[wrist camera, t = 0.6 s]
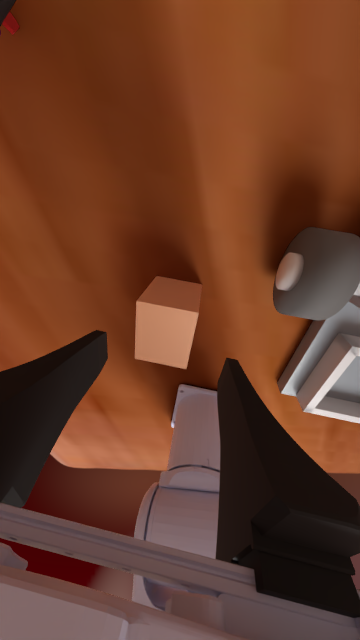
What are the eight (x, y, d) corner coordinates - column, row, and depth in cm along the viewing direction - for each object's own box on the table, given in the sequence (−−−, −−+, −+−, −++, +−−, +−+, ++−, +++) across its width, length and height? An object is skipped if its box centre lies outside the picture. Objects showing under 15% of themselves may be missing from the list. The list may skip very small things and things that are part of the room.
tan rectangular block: (192, 330, 22) (186, 369, 17) (152, 323, 22) (134, 358, 17) (202, 284, 19) (198, 313, 14) (156, 275, 19) (136, 300, 14)
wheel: (328, 306, 18) (376, 346, 13) (260, 293, 18) (279, 328, 13) (370, 236, 15) (456, 251, 10) (287, 222, 15) (327, 230, 10)
